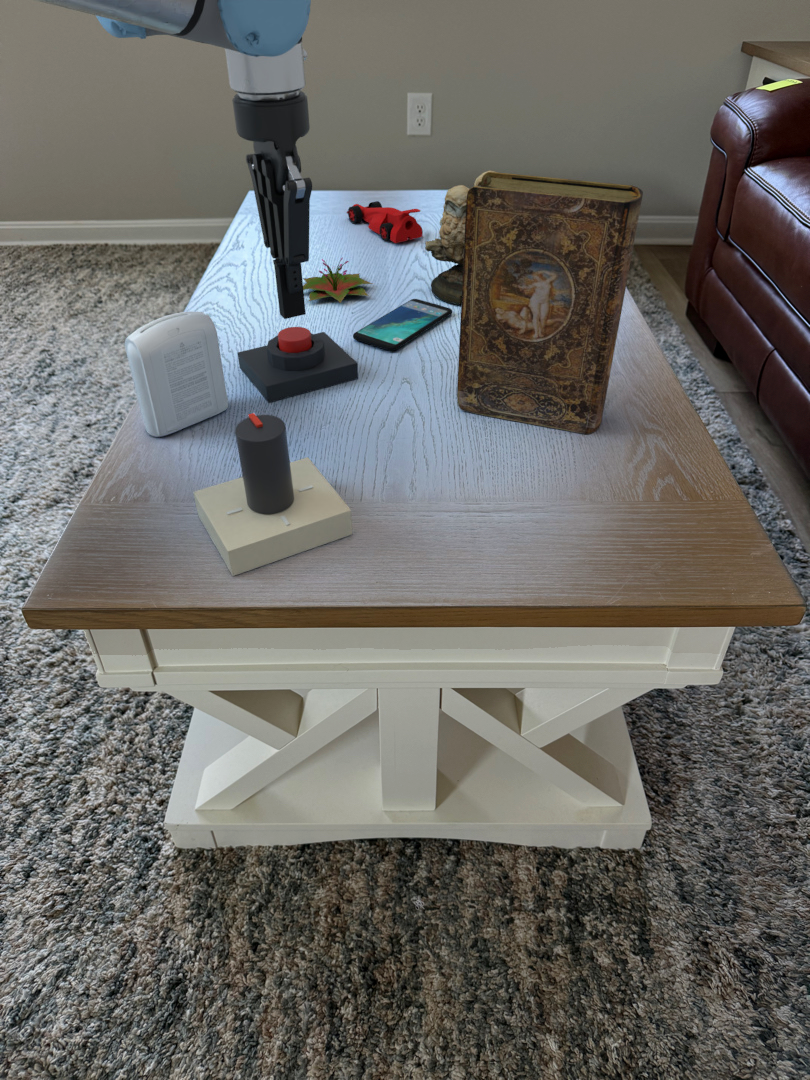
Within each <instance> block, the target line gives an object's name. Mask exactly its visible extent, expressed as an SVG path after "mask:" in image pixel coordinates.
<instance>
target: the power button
mask: <svg viewBox="0 0 810 1080" xmlns="http://www.w3.org/2000/svg"><path fill="white" fill-rule="evenodd" d="M311 333H312V332H311V330H310V329H308V328H306V327H302V326H289V327H286V328H283V329H281V330H280V331H278V333H277V335H278V341H279V349H280V350H281V351H284V352H287V353H299V352H303V351H307V350H309V349H310V348H311V347H312V342H311Z"/></svg>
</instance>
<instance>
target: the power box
mask: <svg viewBox="0 0 810 1080" xmlns="http://www.w3.org/2000/svg"><path fill="white" fill-rule="evenodd" d="M311 342H312V347H311V348H310V349H309V350H307V351H303V352H299V353H287V352H284V351H281V350H280V349H279V341H278V334H277V335H276V336H274V337H273V338H271V339H269V340H268V341H267V345H262V346H258V347H254V348H251V349H247V350H242V351H238V352H236V353H237V359H238V365H239V369H240V370H241V371H242V372H243V374H244V375H245V376H246V377H247V378H248V380H249V381H250V382H251V384H252V385H253V386H254V387H255V388H256V390H257V391H258V392H259V394H261V396H262V397H263V398H264V400H266V402H267V403H273V402H275V401H276V402H277V401H280V400H283V399H289V398H291V397H294V396H295V397H296V396H299V395H302V394H306V393H310V392H313V391H317V390H321V389H324V388H325V389H326V388H328V387H331V386H337V385H339V384H344V383H348V382H351V381H355V380H358V379H359V368H358V366H359V365H358V361H356V360H355V359H354V358H353V357H352V356H351V355H350V354H349V353H347V352H346V350H344V348H342V347H341V346H340V345H339V344H338V343H337V342H336V341H335V340H334V339H332V338H331V336H329V335H328V334H327V333H326V332H325V331H321V332H317V333H312V332H311Z"/></svg>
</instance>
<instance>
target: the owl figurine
mask: <svg viewBox="0 0 810 1080" xmlns="http://www.w3.org/2000/svg"><path fill="white" fill-rule="evenodd" d="M487 172H496V171H494V170H492V169H489V170H487V171H484V172H482V173H481V174H479V176H478V177H476V178H475V180H474V184H473V186H481V181H482V177H483V175H484V174H485V173H487ZM469 189H470V188H469V187H467V186H466V185H463V184H459V185H455V186H453V187H452V188H449V189H447V191H446V194H445V197H444V204H443V211H442V213H441V214H442V217H441V219H439V225H440V228H439V231H438V234H439V235H438V236H439V237H438V238H436V237H435V238H434V239H432V240H429V241H428V240H426V241H425V242H424V244H425V246H424V249H425V251H426V252H430V254H431V256H432V258H434V259H435V260H437V261H439V262H448V263H454V265H453V266H451V267H450V268H449V269H446V270H444V271H442V272H440V273H438V275H437V276H435V277H434V278H433V279H432V281H431V282H430V286H431V287H430V288H431V292H432V294H433V295H434V296H435V298H438V300H439V301H442V302H444V303H448V304H454V305H455V306H461V301H462V281H463V260H464V240H465V219H466V201H467V193H468V191H469Z"/></svg>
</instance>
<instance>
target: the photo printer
mask: <svg viewBox="0 0 810 1080" xmlns="http://www.w3.org/2000/svg"><path fill="white" fill-rule="evenodd" d="M124 346H125V347H124V348H125V353H126V357H127V362H128V364H129V365H128V366H129V370H130V374H131V379H132V383H133V386H134V390H135V391H134V392H135V394H136V398H137V402H138V407H139V411H140V415H141V419H142V423H143V424H144V428H145V431H146V433H147V434H148V435H150V436H152V437H155V438H156V437H157V438H160V437H164V436H169V435H171V434H174V433H176V432H178V431H181V430H182V429H185V428H188V427H190V426H193V425H195V424H198V423H200V422H202V421H204V420H207V419H209V418H212V417H214V416H216V415H218V414H220V413H223V412H225V411H226V410H228V409H229V399H228V392H227V388H226V387H227V386H226V381H225V375H224V369H223V363H222V355H221V348H220V343H219V336H218V331H217V328H216V326H215V323H214V321H213V319H212V318H211V316H210V315H209V314H206V313H204V312H203V311H192V310H191V311H180V312H176V313H170V314H167V315H163V316H161V317H159V318H156V319H154V320H151V321H150V322H147V323H146V324H143V325H142V326H141V327H139V328H137V329H136V330H134V331H133V332H132V333H130V334H129V335H128V336H127V337H126V338H125V340H124Z"/></svg>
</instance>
